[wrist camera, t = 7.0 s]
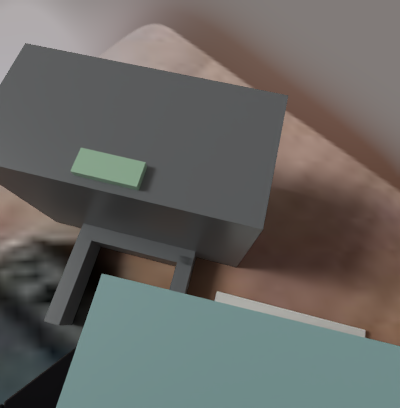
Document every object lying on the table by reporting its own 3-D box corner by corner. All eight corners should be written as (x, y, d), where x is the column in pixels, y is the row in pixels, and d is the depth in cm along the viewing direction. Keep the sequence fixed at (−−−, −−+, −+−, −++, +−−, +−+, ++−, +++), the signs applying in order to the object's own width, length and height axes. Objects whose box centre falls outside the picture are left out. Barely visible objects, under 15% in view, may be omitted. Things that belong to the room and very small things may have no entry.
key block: (239, 426, 13) (404, 883, 2) (148, 401, 13) (-47, 706, 3) (255, 326, 14) (403, 347, 4) (172, 305, 14) (102, 273, 4)
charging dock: (215, 365, 20) (230, 412, 10) (17, 309, 21) (-143, 302, 11) (254, 181, 24) (290, 89, 14) (90, 144, 25) (21, 36, 16)
